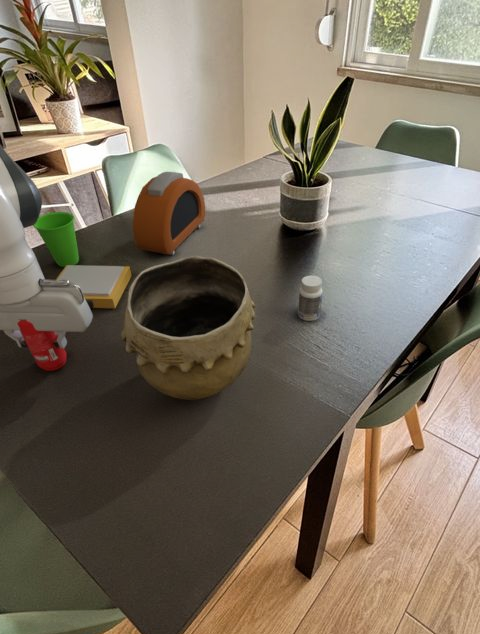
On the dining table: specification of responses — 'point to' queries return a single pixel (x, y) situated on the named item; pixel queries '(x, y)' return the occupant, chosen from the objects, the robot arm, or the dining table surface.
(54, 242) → the cup
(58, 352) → the beverage can
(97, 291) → the scale
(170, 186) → the alarm clock
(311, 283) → the pill bottle
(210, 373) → the clay pot
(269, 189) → the dining table surface
